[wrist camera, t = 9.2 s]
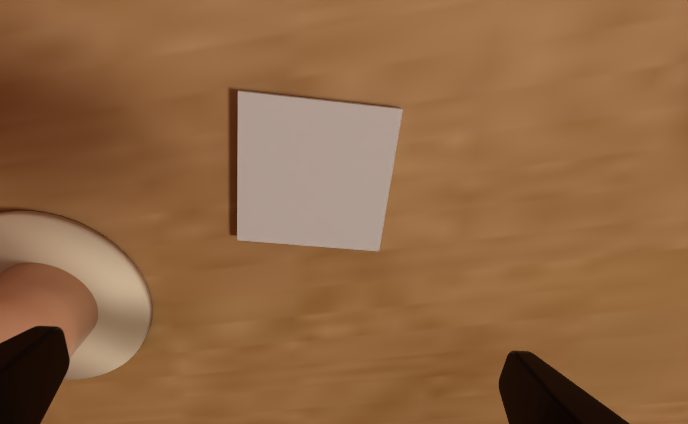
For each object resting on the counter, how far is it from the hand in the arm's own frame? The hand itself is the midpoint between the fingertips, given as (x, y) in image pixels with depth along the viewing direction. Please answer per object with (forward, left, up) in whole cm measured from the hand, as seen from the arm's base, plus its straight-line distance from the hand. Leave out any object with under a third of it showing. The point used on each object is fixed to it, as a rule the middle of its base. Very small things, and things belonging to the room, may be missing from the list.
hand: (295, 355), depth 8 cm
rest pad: (0, 0, -11) cm, 11 cm away
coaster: (-8, +13, -11) cm, 19 cm away
